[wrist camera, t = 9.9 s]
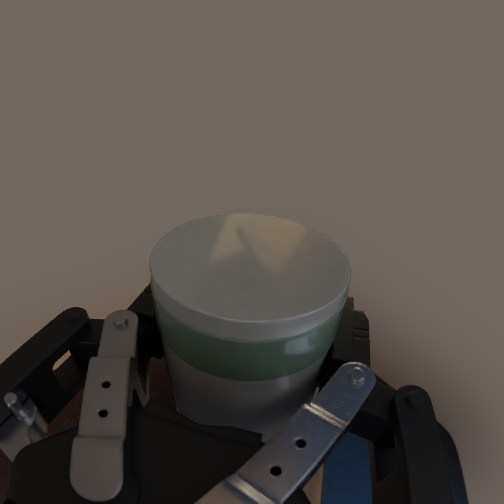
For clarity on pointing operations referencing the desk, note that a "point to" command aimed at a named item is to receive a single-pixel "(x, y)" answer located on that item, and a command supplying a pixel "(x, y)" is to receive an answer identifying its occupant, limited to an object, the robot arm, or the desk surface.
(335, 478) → the desk surface
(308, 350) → the canister
